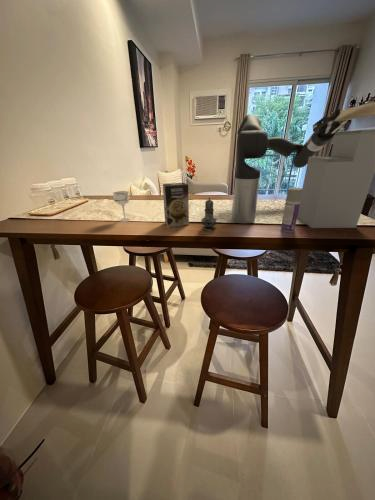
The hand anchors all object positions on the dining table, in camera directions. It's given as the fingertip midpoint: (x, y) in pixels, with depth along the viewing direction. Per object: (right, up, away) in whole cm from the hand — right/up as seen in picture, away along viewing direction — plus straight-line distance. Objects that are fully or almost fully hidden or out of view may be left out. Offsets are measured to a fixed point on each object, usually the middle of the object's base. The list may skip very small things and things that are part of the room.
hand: (345, 110), depth 77 cm
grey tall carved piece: (-49, -42, +6) cm, 65 cm away
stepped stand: (-2, -39, +9) cm, 40 cm away
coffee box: (-62, -40, +12) cm, 74 cm away
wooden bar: (0, -5, -5) cm, 7 cm away
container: (-20, -43, +2) cm, 48 cm away
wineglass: (-85, -37, +19) cm, 95 cm away
